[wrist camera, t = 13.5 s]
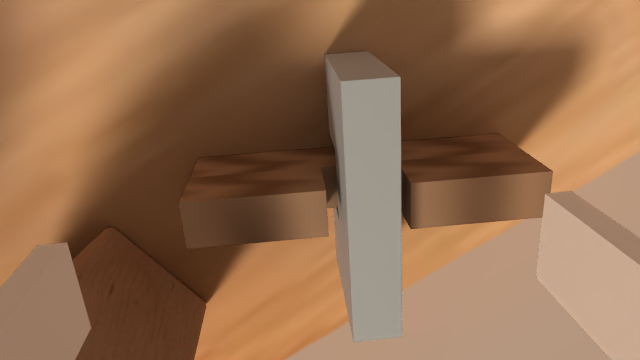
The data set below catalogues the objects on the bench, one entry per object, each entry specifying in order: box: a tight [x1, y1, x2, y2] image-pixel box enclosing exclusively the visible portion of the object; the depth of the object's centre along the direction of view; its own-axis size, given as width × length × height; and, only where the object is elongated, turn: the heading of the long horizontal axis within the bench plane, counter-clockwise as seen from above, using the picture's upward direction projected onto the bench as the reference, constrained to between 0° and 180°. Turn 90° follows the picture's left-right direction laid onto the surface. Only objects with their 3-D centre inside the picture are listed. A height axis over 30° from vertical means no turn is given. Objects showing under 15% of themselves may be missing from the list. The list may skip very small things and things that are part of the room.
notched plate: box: [324, 51, 402, 342], centre depth 33 cm, size 3×16×10 cm, turn 4°
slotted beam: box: [178, 133, 553, 249], centre depth 34 cm, size 22×3×8 cm, turn 93°
